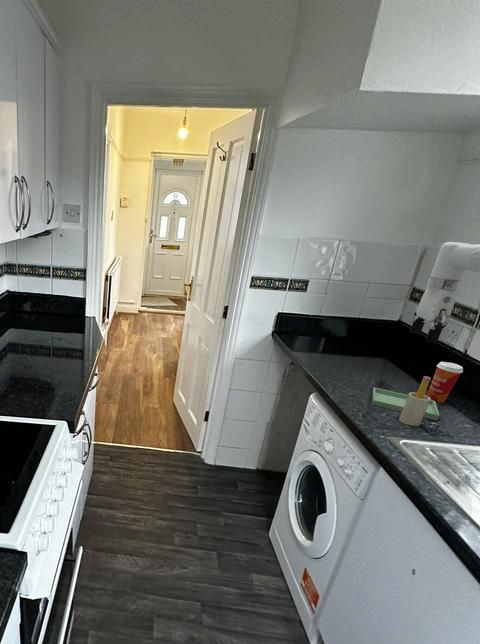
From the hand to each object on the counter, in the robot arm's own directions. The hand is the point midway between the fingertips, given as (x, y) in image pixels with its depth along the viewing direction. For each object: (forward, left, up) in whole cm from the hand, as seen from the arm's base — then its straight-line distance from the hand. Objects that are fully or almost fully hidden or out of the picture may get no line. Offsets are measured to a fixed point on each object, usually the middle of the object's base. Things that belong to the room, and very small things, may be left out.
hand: (422, 337), depth 135 cm
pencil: (-4, +9, -26) cm, 28 cm away
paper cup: (-14, -22, -27) cm, 37 cm away
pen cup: (-4, +9, -27) cm, 29 cm away
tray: (-3, -7, -27) cm, 28 cm away
